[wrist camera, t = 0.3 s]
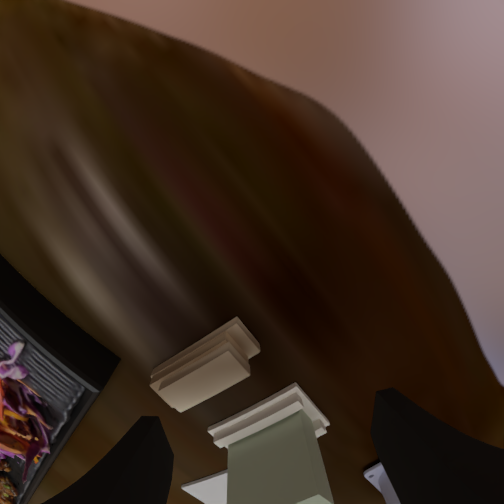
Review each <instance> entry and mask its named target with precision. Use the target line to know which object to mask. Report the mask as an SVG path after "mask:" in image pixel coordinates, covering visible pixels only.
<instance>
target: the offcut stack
mask: <svg viewBox="0 0 504 504" xmlns="http://www.w3.org/2000/svg"><path fill="white" fill-rule="evenodd" d="M259 352H260V344H259V342H258V341H257V340H256V339H255V338H254V336H253V335H252V334H251V333H250V332H249V330H248V329H247V328H246V327H245V325H244V324H243V323H242V322H241V320H240V319H239V318H238V317H235V318H234V319H232V320H230V321H229V322H227V323H226V324H224V325H223V326H221V327H220V328H218V329H216V330H215V331H213V332H212V333H210V334H209V335H207V336H205V337H204V338H202V339H201V340H199V341H198V342H196V343H194V344H193V345H191V346H190V347H188V348H186V349H185V350H183V351H181V352H180V353H178V354H177V355H175V356H173V357H172V358H170V359H169V360H167V361H165V362H164V363H162V364H160V365H159V366H157V367H155V368H154V369H153V372H152V374H151V378H152V380H151V382H150V384H149V386H150V387H151V388H152V389H153V390H154V391H155V392H156V393H157V394H158V395H159V396H160V397H161V398H162V399H163V400H164V401H166V402H167V403H168V404H169V405H170V406H171V407H172V408H174V407H175V408H176V409H177V410H178V411H179V412H180V413H181V412H183V411H185V410H187V409H189V408H191V407H193V406H195V405H197V404H199V403H201V402H203V401H204V400H206V399H208V398H210V397H212V396H214V395H216V394H218V393H220V392H221V391H223V390H225V389H227V388H229V387H231V386H232V385H234V384H236V383H238V382H240V381H241V380H243V379H245V378H247V377H248V376H250V365H249V364H248V359H249V358H251V357H253V356H254V355H256V354H258V353H259Z"/></svg>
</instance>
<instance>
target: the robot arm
mask: <svg viewBox="0 0 504 504" xmlns="http://www.w3.org/2000/svg"><path fill="white" fill-rule="evenodd" d="M370 433H371V436H372V439H373V443H374V446H375V449H376V452H377V455H378V457H379V459H380V463H378V464H376V465H375V466H373V467H371V468H369V469H367V470H366V471H364V473H363V474H364V477H365V478H366V479H367V480H368V481H370V482H371V483H372V484H373V485H374V486H375V487H376V488H377V489H378V490H379V491H380V492H381V493H382V494H383V496H384V499H385V501H386V504H504V449H501V448H498V447H495V446H492V445H489V444H486V443H484V442H482V441H479V440H477V439H474V438H472V437H470V436H468V435H466V434H464V433H462V432H460V431H458V430H456V429H454V428H453V427H451V426H449V425H447V424H445V423H444V422H442V421H441V420H439V419H437V418H436V417H434V416H433V415H431V414H430V413H428V412H427V411H425V410H424V409H422V408H421V407H419V406H418V405H417V404H415V403H414V402H412V401H411V400H409V399H408V398H407V397H405V396H404V395H403V394H401V393H400V392H398V391H397V390H396V389H394V388H393V387H392V388H389V389H385V390H381V391H376V397H375V405H374V412H373V419H372V426H371V432H370ZM173 459H174V454H173V452H172V450H171V447H170V445H169V442H168V440H167V437H166V435H165V432H164V430H163V427H162V424H161V422H160V419H159V417H158V416H141V417H140V419H139V420H138V421H137V422H136V423H135V424H134V425H133V426H132V427H131V428H130V429H129V431H128V432H127V433H126V434H125V435H124V436H123V437H122V438H121V439H120V441H119V442H118V443H117V444H116V445H115V446H114V447H113V448H112V449H111V450H110V451H109V452H108V453H107V454H106V455H105V456H104V457H103V458H102V459H101V460H100V461H99V462H98V463H97V464H96V465H95V466H94V467H93V468H92V469H91V470H89V471H88V472H87V473H86V474H85V475H84V476H82V477H81V478H80V479H79V480H77V481H76V482H75V483H73V484H72V485H71V486H69V487H68V488H67V489H65V490H64V491H62V492H60V493H59V494H57V495H55V496H54V497H52V498H50V499H49V500H47V501H45V502H43V503H42V504H166V503H167V498H168V494H169V490H170V485H171V480H172V472H173Z"/></svg>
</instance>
